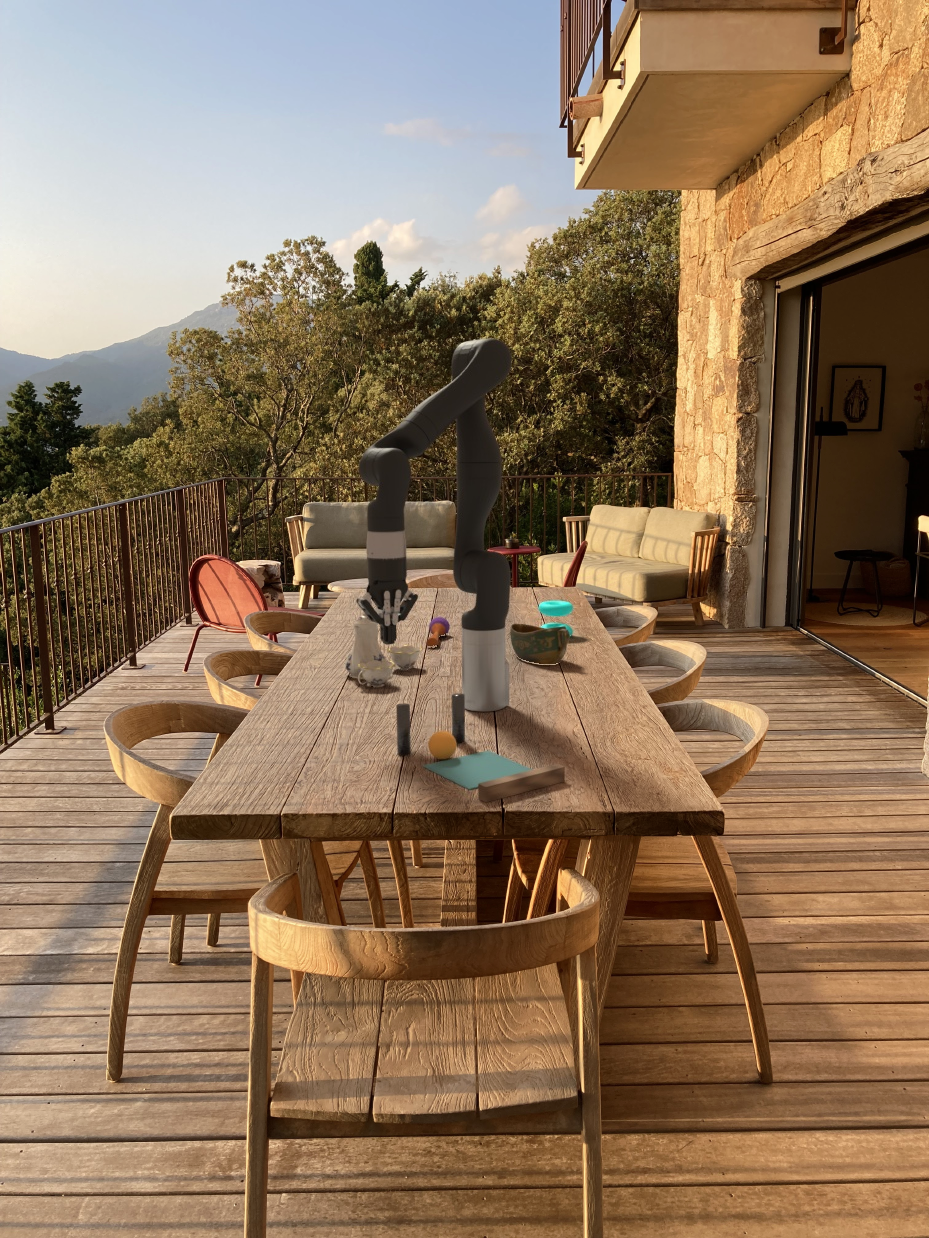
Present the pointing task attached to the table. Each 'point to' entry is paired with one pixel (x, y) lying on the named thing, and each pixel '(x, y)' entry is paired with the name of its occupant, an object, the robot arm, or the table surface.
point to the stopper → (521, 782)
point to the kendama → (437, 630)
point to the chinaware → (375, 655)
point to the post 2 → (458, 717)
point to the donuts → (556, 612)
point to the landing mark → (476, 768)
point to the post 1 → (403, 729)
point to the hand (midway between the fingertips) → (388, 643)
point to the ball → (442, 745)
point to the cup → (539, 643)
